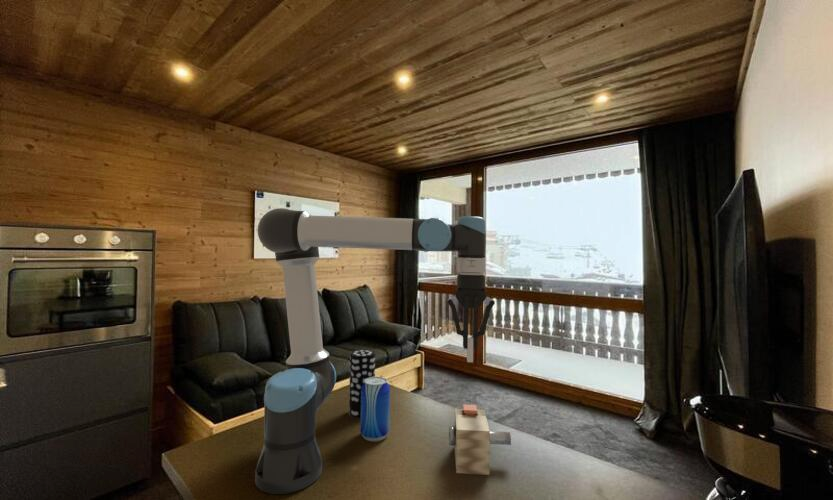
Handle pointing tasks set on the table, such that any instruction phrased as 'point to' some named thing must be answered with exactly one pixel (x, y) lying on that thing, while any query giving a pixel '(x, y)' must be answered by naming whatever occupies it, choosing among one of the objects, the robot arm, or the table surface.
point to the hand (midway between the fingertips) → (469, 360)
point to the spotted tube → (359, 378)
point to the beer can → (375, 409)
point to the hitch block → (472, 443)
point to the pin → (495, 437)
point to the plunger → (470, 409)
